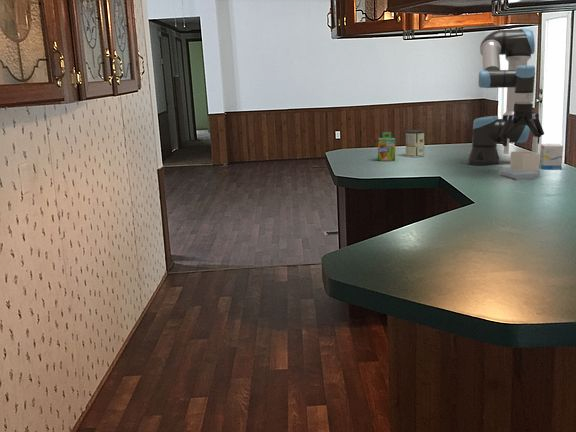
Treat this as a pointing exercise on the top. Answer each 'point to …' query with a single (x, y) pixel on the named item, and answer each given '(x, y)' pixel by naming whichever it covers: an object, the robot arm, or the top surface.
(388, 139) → the chalk box
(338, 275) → the top surface
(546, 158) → the ink box
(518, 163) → the crate
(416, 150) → the cream miniature cabinet
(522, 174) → the lid
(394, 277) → the top surface
